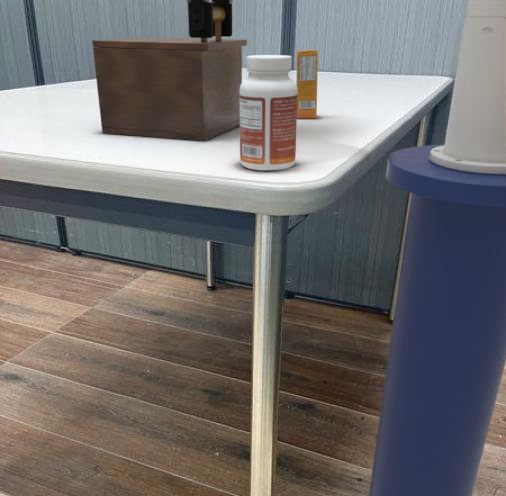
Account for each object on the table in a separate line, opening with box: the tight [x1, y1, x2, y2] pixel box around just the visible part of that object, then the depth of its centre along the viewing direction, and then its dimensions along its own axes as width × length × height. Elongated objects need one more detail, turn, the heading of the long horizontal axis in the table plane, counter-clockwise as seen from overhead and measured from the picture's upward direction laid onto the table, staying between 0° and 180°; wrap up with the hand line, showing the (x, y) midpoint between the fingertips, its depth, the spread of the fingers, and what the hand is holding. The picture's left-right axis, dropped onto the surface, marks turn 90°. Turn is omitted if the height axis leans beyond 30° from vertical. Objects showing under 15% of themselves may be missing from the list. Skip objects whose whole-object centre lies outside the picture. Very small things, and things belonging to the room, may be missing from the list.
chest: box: [92, 46, 243, 142], centre depth 84 cm, size 16×15×11 cm
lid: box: [91, 7, 248, 51], centre depth 80 cm, size 16×15×5 cm
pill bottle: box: [239, 54, 298, 172], centre depth 63 cm, size 6×6×11 cm
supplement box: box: [295, 49, 319, 120], centre depth 95 cm, size 3×3×10 cm
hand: (211, 35), depth 79 cm, fingers closed on lid, 6 cm apart
